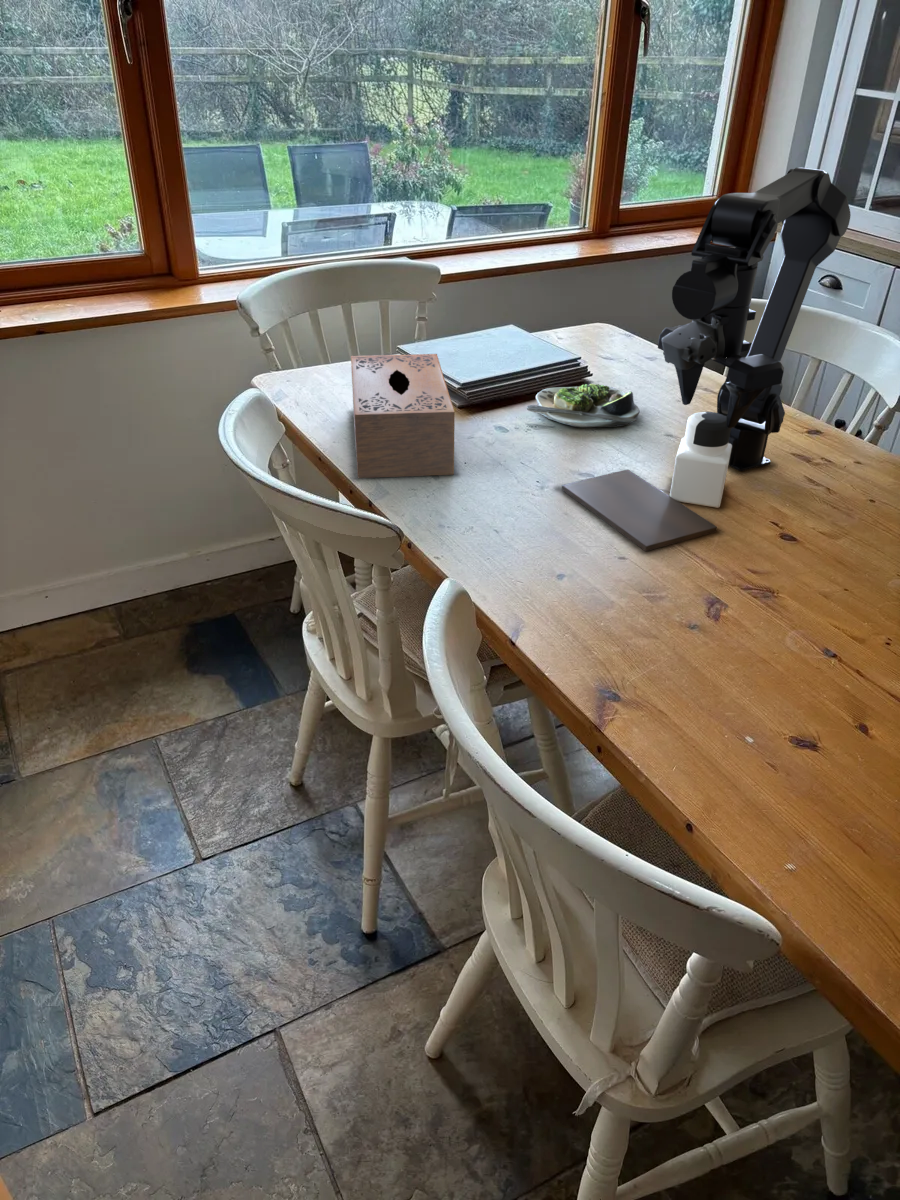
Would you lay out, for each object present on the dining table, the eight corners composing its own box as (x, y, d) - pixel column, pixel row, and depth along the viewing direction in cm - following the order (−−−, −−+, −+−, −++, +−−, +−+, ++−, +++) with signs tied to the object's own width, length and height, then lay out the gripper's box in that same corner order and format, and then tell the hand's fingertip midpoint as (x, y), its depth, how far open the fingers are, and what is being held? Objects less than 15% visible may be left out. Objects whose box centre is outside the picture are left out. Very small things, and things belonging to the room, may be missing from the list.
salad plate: (537, 436, 149) (539, 409, 147) (513, 397, 164) (515, 372, 161) (649, 430, 152) (653, 404, 149) (616, 392, 167) (619, 367, 164)
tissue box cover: (353, 412, 157) (350, 355, 151) (436, 410, 158) (436, 353, 153) (357, 478, 135) (354, 414, 130) (453, 474, 137) (454, 411, 131)
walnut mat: (627, 474, 138) (628, 469, 137) (716, 531, 123) (717, 526, 123) (561, 489, 133) (561, 484, 133) (645, 551, 118) (646, 546, 118)
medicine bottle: (723, 487, 134) (739, 411, 128) (719, 508, 129) (735, 429, 122) (675, 480, 136) (687, 404, 130) (668, 500, 131) (681, 422, 124)
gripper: (633, 291, 121) (620, 402, 130) (728, 330, 107) (706, 452, 116) (699, 281, 125) (682, 390, 134) (798, 318, 111) (772, 436, 120)
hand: (707, 415), depth 126 cm, fingers open, 9 cm apart
